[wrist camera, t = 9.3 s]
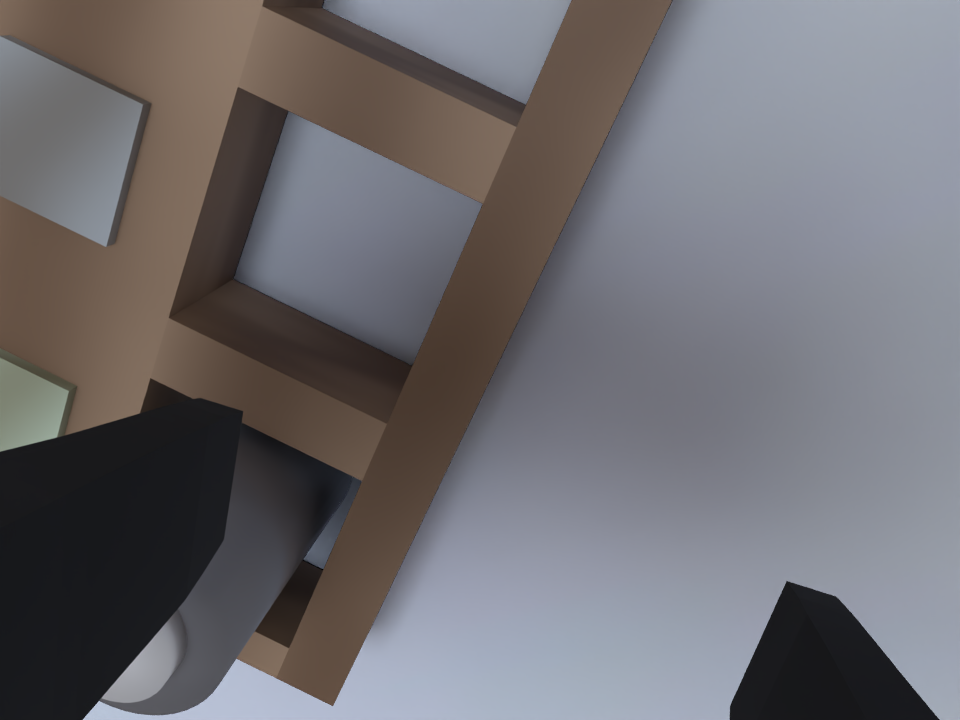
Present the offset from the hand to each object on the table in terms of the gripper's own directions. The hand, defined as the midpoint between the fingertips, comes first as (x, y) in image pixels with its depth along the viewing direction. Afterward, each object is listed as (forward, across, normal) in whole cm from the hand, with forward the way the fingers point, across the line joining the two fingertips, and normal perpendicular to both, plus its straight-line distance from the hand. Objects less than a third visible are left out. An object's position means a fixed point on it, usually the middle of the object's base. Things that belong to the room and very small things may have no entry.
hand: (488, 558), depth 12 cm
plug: (+9, +6, +6) cm, 12 cm away
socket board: (+9, +7, -1) cm, 12 cm away
